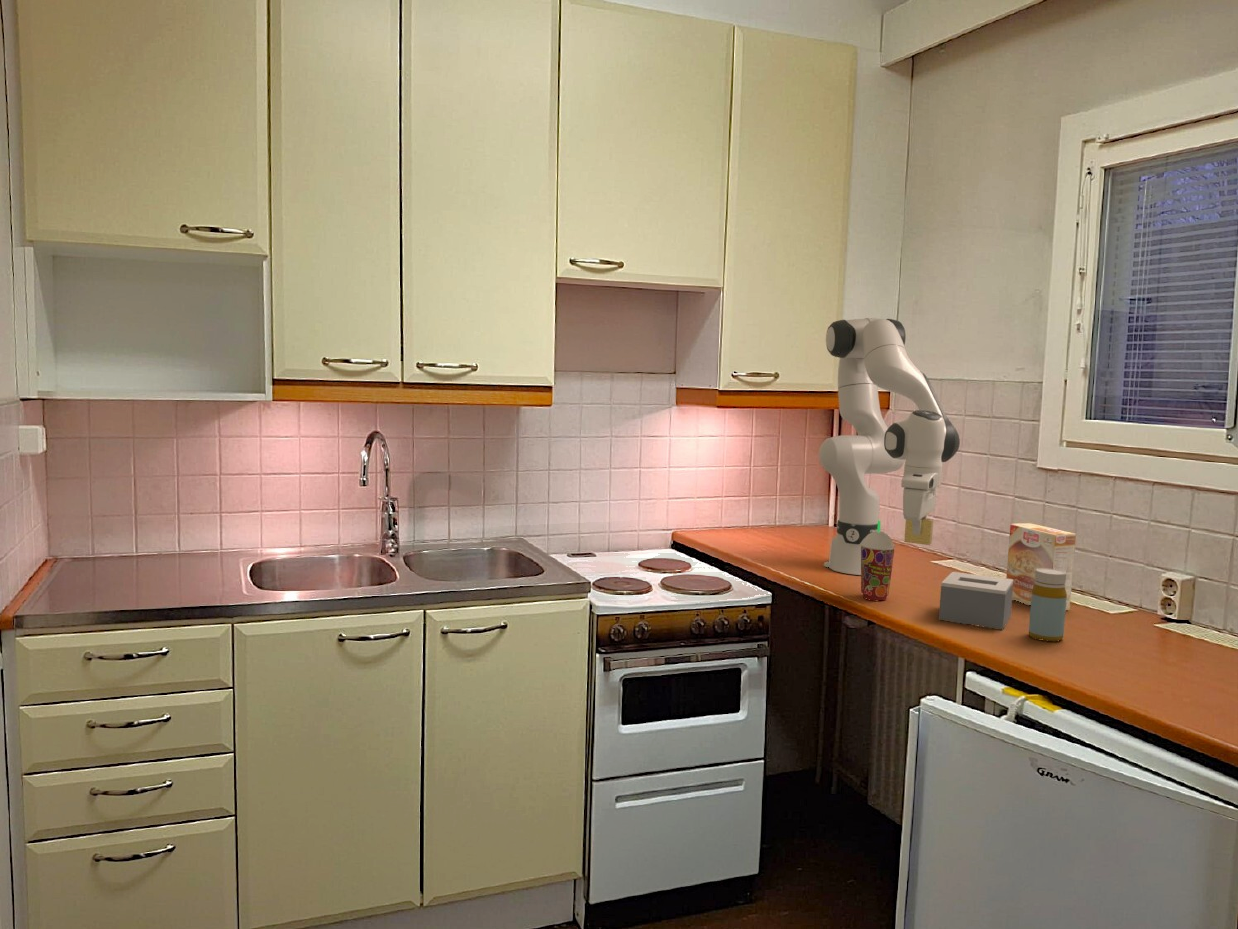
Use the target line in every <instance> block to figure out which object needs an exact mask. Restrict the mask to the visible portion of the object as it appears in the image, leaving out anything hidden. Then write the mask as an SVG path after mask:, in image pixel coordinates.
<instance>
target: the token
mask: <svg viewBox="0 0 1238 929" xmlns="http://www.w3.org/2000/svg"><path fill="white" fill-rule="evenodd" d="M904 526H905V529H904V540H903V541H904V542H903V543H908V544H909V543H910V544H917V545H926V546H930V545H932V543H933V542H932V540H933V529H934V528H933V526H934V519H931V518H927V519H925V518H922V521H921V534H920V535H913V533H912V531H913V527H912V520H906V519H905V525H904Z"/></svg>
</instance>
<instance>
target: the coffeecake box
mask: <svg viewBox="0 0 1238 929" xmlns="http://www.w3.org/2000/svg"><path fill="white" fill-rule="evenodd" d="M1009 526H1010V528H1009V538H1008V541H1009V542H1008V553H1007V565H1006V566H1007V567H1006V578H1005V579H1013V594H1012V601H1014V600H1016V601H1015V602H1017V601H1019V602H1018V603H1020V602H1021V603H1020V604H1023V603H1024V604H1023V605H1027V606H1029V605H1031V595H1032V589H1033V587H1034V585H1035V571H1036V569H1039V568H1048V569H1056V570H1061V571H1064V572H1066V582H1065V590H1066V593H1067V599H1066V610H1068V611H1070V608H1071V595H1072V585H1073V584H1072V583H1073V571H1074V559H1075V549H1076V535H1077V534H1076V533H1075V532H1069V531H1065V530H1060V529H1057V528H1053V527H1049V526H1044V525H1039V524H1035V523H1031V522H1029V523H1028V522H1026V523H1018V522H1016V523H1010V525H1009Z"/></svg>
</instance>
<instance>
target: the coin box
mask: <svg viewBox="0 0 1238 929" xmlns="http://www.w3.org/2000/svg"><path fill="white" fill-rule="evenodd" d="M1012 594H1013V579H1006V578H1004V577H995V576H990V575H989V576H988V575H983V574H982V575H981V574H974V573H966V572H958V571H952V572H951V573H949V575H947V576H946V577H945V578H944V580H942V581H941V585H940V594H939V595H940V597H939V612H938V620H939V619H940V620H945V621H944V622H947V621H951V622H950V623H953V622H957V623H956V624H960V623H962V624H961V625H966V624H973V625H979V626H984V627H983V628H986V627H991V628H990V629H992V628H996V629H995V630H999V629H1003V628H1004V629H1005V627H1006V625H1007V624H1008V622H1007V621H1009V620H1010V619H1011V617H1012V605H1013V600H1012ZM1010 616H1011V617H1010ZM1009 618H1010V619H1009ZM1008 619H1009V620H1008ZM940 620H939V621H940ZM1006 623H1007V624H1006ZM1005 624H1006V625H1005ZM973 625H972V626H973ZM979 626H978V627H979ZM1004 629H1003V630H1004Z"/></svg>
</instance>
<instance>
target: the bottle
mask: <svg viewBox="0 0 1238 929" xmlns="http://www.w3.org/2000/svg"><path fill="white" fill-rule="evenodd" d="M1065 582H1066V572H1064V571H1061V570H1056V569H1048V568H1039V569H1036V571H1035V585H1034V587H1033V589H1032V595H1031V606H1030V607H1029V608H1030V610H1029V621H1028V622H1029V623H1028V635H1029V636H1030V637H1031V636H1032V637H1034V638H1036V639H1035V640H1037V639H1043V640H1048V641H1058V640H1060V641H1061V640H1063V638H1064V633H1065V621H1066V620H1065V619H1066V599H1067V593H1066V590H1065ZM1032 637H1031V638H1032ZM1034 638H1033V639H1034ZM1058 642H1059V641H1058Z"/></svg>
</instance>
